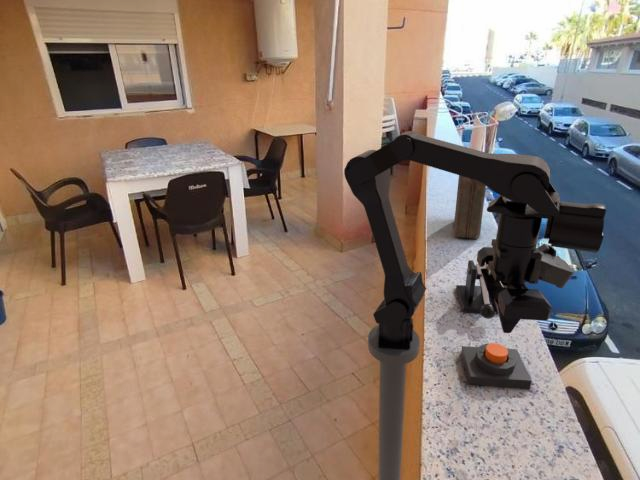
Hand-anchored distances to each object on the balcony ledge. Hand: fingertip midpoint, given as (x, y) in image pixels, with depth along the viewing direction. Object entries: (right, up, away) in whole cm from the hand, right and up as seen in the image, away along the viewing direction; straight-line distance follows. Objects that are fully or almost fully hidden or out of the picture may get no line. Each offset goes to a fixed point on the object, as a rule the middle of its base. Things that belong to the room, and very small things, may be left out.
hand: (501, 321), depth 65 cm
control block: (+1, -10, +4) cm, 11 cm away
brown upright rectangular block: (+19, +18, +63) cm, 68 cm away
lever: (+5, +2, +20) cm, 21 cm away
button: (0, -7, +3) cm, 8 cm away
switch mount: (+6, 0, +25) cm, 25 cm away
